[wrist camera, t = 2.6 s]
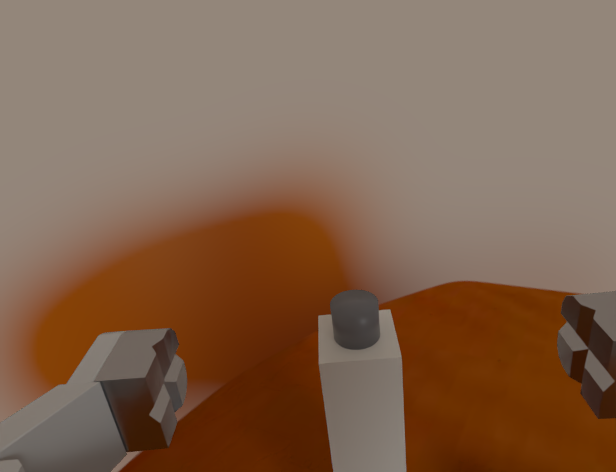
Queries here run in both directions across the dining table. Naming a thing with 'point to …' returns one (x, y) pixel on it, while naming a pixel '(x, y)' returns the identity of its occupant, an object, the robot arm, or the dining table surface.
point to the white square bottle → (362, 385)
